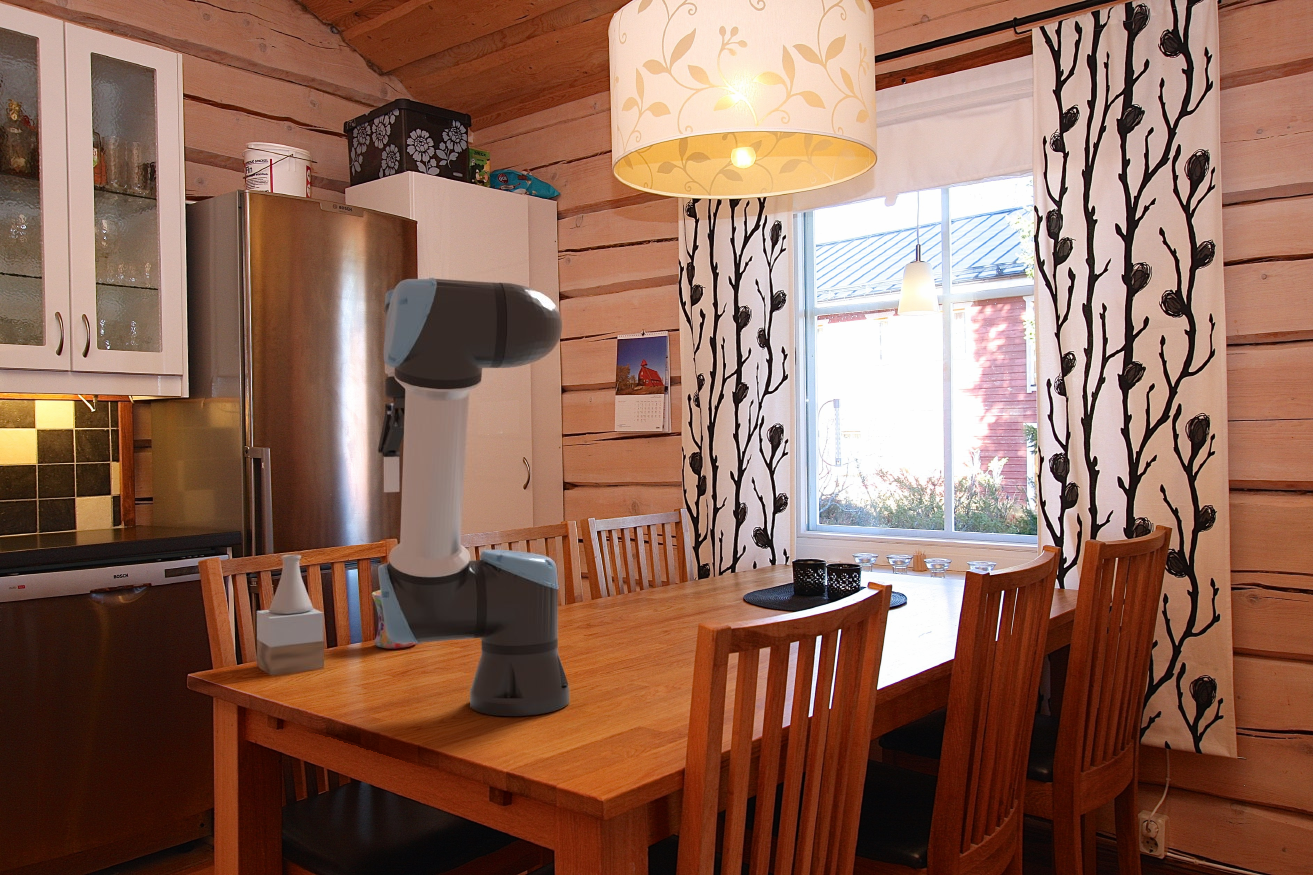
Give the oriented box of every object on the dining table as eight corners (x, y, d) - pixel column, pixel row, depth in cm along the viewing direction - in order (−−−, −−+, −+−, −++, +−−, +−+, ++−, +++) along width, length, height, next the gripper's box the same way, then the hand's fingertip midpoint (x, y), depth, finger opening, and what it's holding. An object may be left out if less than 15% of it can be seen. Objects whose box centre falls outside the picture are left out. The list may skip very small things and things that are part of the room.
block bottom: (324, 668, 174) (324, 640, 174) (271, 676, 169) (271, 647, 169) (307, 659, 181) (307, 632, 181) (257, 666, 176) (257, 638, 176)
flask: (321, 610, 176) (321, 554, 176) (285, 616, 170) (285, 559, 170) (296, 606, 180) (296, 552, 180) (261, 612, 174) (260, 556, 174)
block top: (323, 640, 174) (323, 612, 174) (270, 647, 169) (270, 618, 169) (308, 632, 181) (307, 605, 181) (256, 638, 176) (256, 610, 176)
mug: (392, 653, 186) (391, 597, 186) (361, 647, 191) (361, 592, 191) (441, 642, 195) (441, 589, 195) (411, 636, 201) (410, 585, 201)
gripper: (457, 373, 170) (458, 495, 170) (397, 380, 189) (398, 489, 189) (417, 371, 165) (417, 497, 165) (359, 378, 185) (360, 491, 185)
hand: (407, 493), depth 177 cm, fingers open, 13 cm apart
